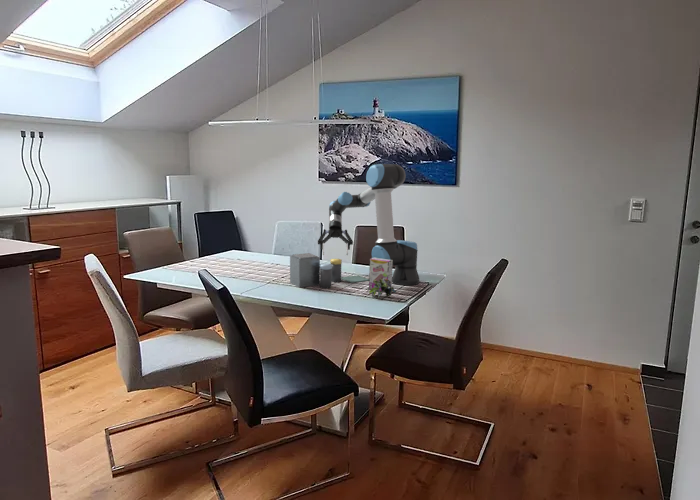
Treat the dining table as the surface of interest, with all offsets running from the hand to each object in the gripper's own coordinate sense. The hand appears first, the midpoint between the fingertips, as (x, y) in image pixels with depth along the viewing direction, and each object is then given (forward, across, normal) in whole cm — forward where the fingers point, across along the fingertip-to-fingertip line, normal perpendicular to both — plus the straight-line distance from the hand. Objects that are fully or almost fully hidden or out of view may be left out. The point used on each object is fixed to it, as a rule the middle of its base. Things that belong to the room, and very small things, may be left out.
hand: (335, 253), depth 294 cm
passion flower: (+40, -23, +21) cm, 50 cm away
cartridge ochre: (+16, 0, -3) cm, 17 cm away
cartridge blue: (+26, +5, +7) cm, 27 cm away
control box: (+21, +16, +2) cm, 27 cm away
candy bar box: (+30, -23, +11) cm, 40 cm away
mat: (+14, -11, -5) cm, 18 cm away
